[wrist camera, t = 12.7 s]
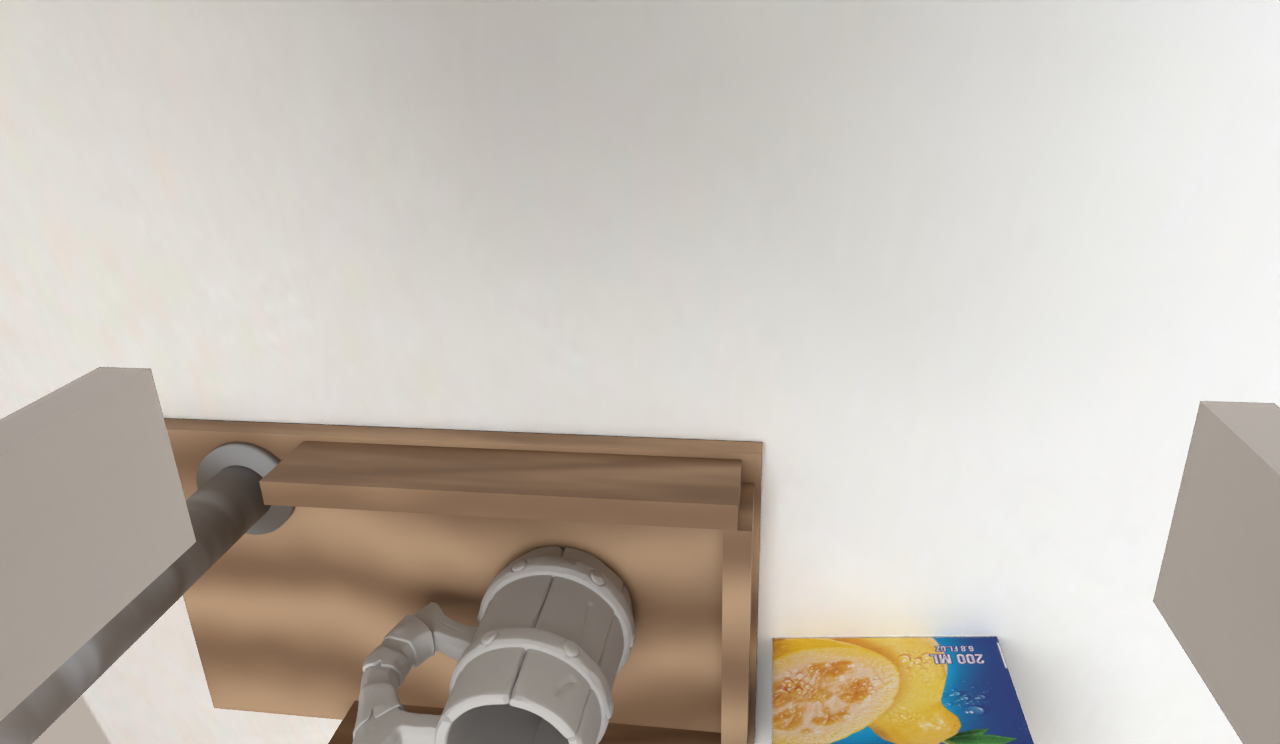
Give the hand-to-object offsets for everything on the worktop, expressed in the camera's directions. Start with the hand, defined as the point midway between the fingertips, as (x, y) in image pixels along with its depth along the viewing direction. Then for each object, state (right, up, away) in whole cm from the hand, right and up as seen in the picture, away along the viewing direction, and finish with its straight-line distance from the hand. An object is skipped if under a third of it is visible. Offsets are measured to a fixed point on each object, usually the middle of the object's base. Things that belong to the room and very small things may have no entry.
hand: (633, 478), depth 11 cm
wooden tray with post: (-9, -10, +35) cm, 37 cm away
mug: (-6, -10, +33) cm, 35 cm away
